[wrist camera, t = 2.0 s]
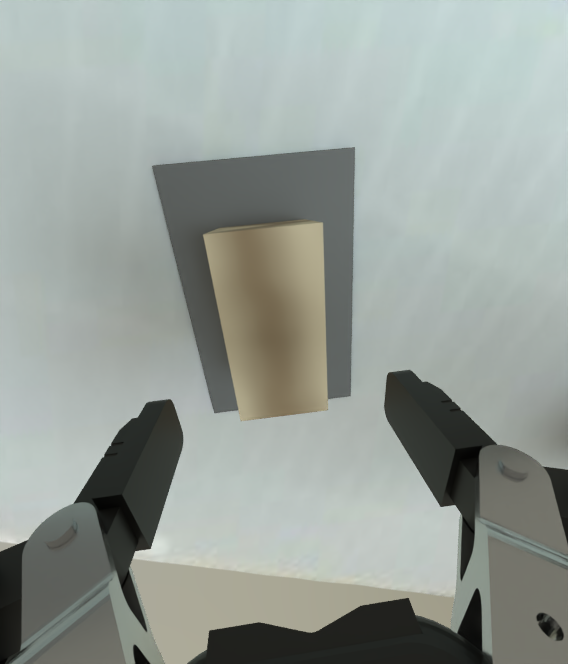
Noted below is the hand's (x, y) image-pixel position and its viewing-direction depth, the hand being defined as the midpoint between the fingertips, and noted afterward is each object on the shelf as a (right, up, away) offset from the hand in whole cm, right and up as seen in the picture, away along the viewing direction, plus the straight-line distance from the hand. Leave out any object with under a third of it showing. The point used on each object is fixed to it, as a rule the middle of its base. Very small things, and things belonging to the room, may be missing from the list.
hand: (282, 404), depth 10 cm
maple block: (-1, +5, +11) cm, 12 cm away
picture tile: (-1, +5, +12) cm, 13 cm away
